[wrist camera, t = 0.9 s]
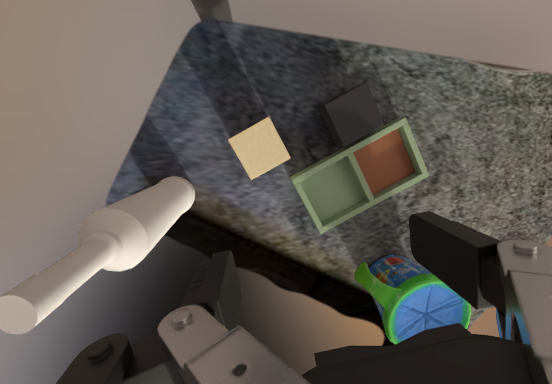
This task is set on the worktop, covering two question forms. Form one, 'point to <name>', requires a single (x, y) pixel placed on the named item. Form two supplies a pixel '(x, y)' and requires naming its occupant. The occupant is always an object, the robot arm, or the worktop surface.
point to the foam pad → (259, 148)
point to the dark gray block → (351, 115)
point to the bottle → (99, 251)
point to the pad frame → (360, 175)
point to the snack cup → (411, 297)
